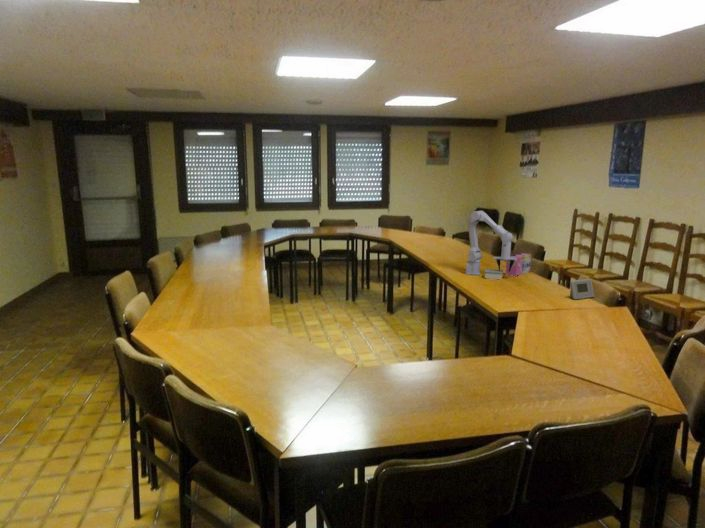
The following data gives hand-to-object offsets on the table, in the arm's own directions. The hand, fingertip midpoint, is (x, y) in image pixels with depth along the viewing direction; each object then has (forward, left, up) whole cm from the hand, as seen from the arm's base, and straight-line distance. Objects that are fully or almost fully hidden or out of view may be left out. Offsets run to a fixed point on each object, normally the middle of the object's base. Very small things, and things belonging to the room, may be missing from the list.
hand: (504, 270), depth 321 cm
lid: (-6, 0, -1) cm, 6 cm away
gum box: (+10, +21, -6) cm, 24 cm away
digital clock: (+42, -35, -6) cm, 55 cm away
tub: (-7, 0, -5) cm, 9 cm away
